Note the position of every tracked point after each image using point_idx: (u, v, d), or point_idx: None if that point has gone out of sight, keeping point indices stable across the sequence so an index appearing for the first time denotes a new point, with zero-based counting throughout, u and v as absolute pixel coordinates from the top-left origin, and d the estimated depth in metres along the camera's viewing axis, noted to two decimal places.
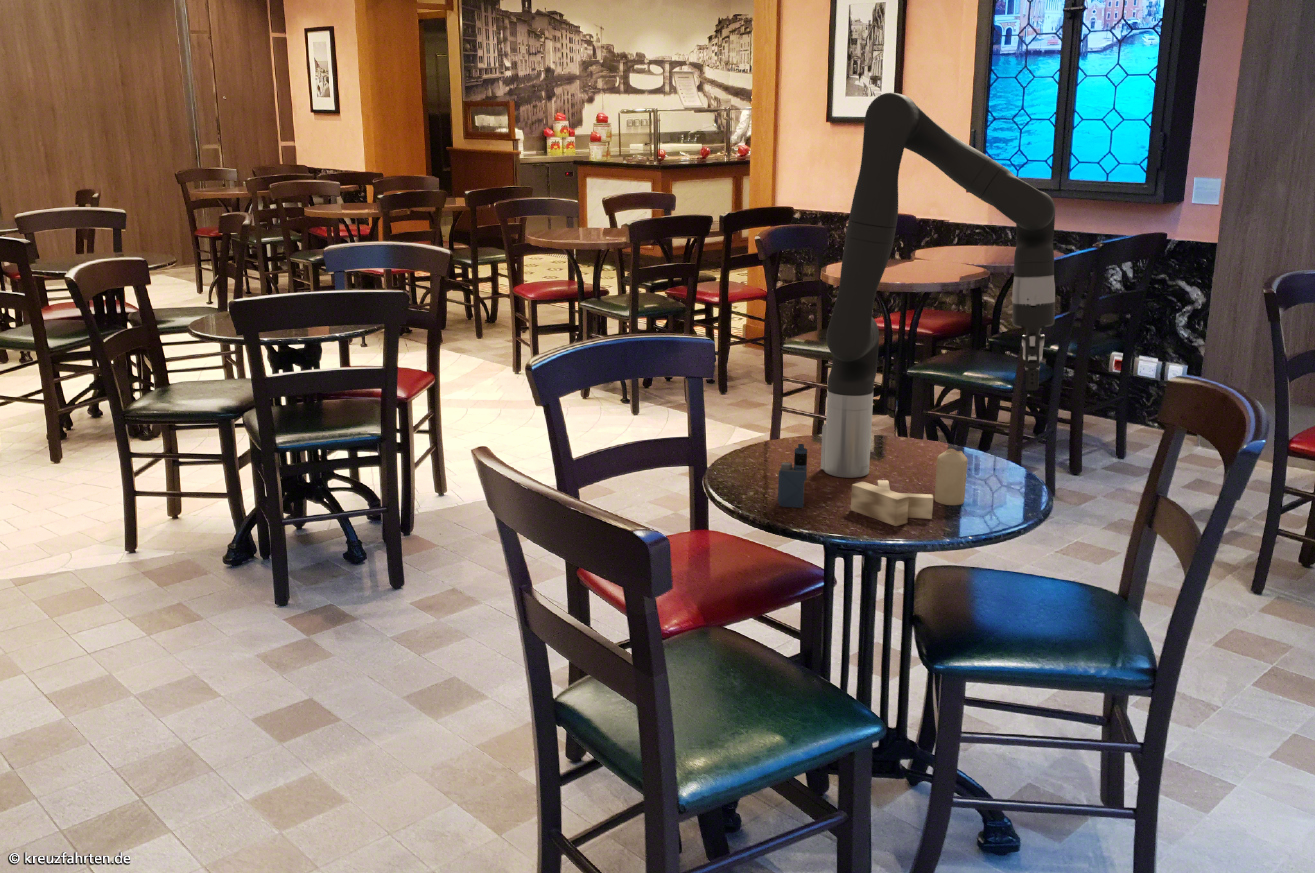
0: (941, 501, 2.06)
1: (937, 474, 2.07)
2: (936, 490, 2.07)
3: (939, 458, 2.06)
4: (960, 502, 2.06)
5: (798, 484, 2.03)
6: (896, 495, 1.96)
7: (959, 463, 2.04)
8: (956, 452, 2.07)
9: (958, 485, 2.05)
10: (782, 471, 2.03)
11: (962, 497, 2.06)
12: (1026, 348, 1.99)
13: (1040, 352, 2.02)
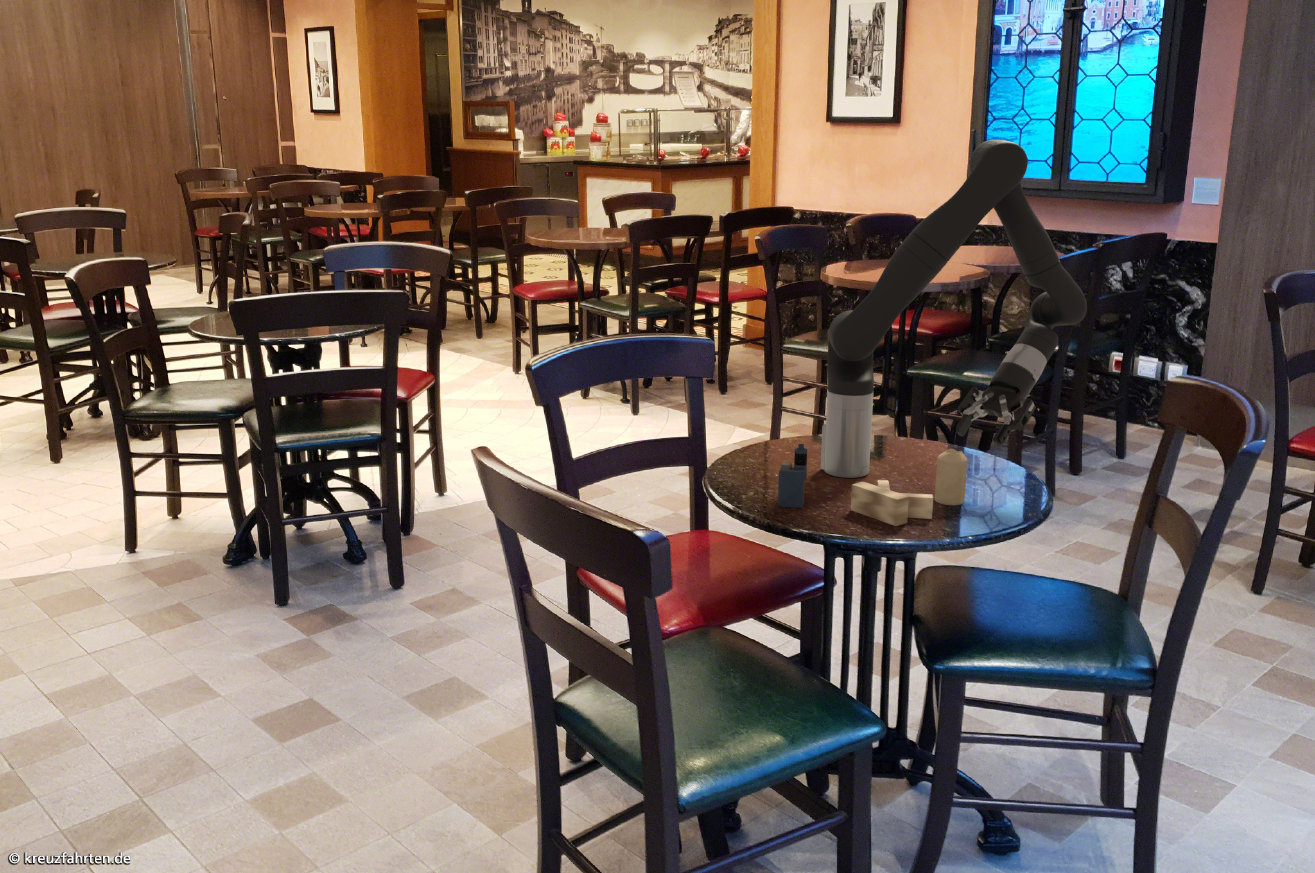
0: (941, 501, 2.06)
1: (937, 474, 2.07)
2: (936, 490, 2.07)
3: (939, 458, 2.06)
4: (960, 502, 2.06)
5: (798, 484, 2.03)
6: (896, 495, 1.96)
7: (959, 463, 2.04)
8: (956, 452, 2.07)
9: (958, 485, 2.05)
10: (782, 471, 2.03)
11: (962, 497, 2.06)
12: (1027, 408, 2.05)
13: (1013, 417, 2.09)
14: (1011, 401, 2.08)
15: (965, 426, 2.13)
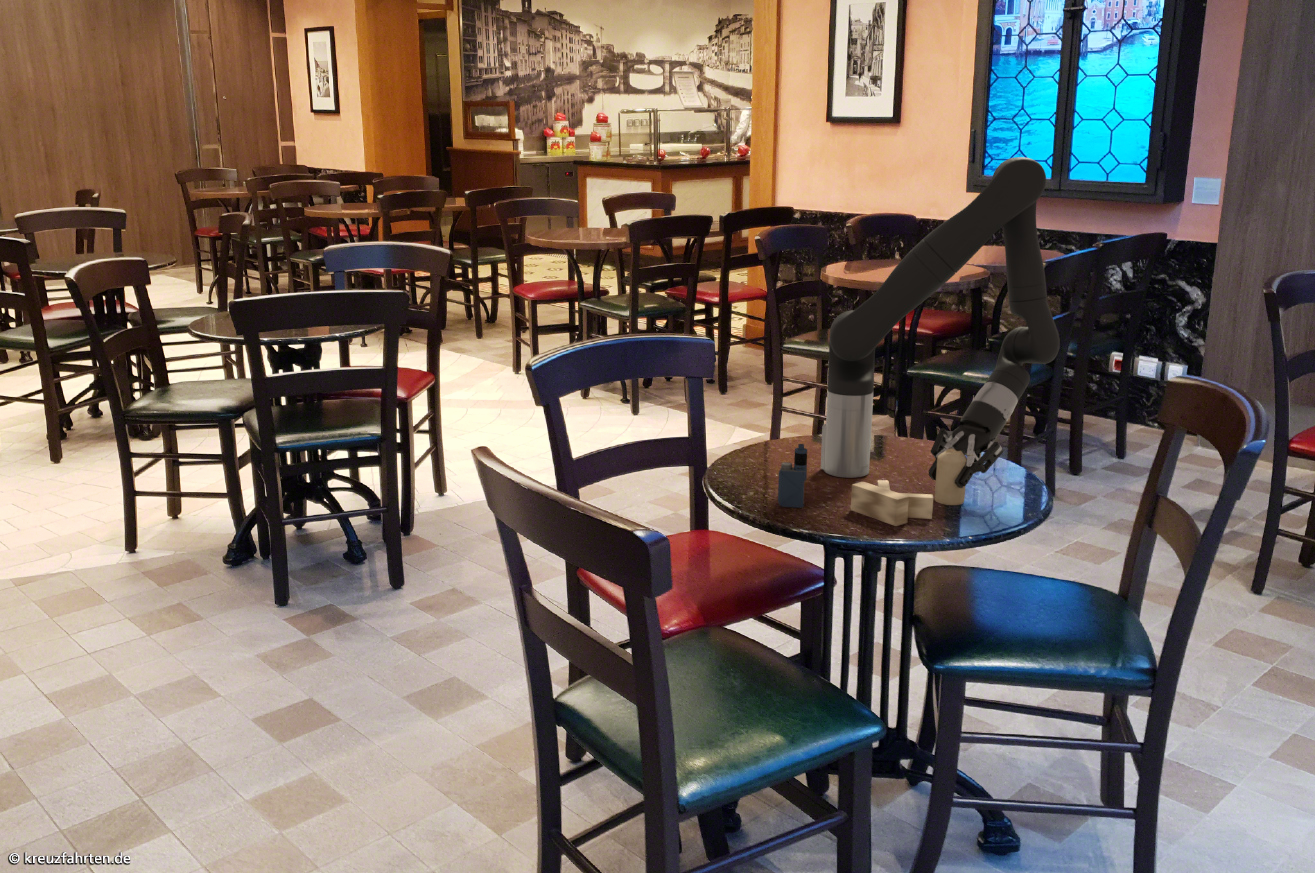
0: (941, 501, 2.06)
1: (937, 474, 2.07)
2: (936, 490, 2.07)
3: (939, 458, 2.06)
4: (960, 502, 2.06)
5: (798, 484, 2.03)
6: (896, 495, 1.96)
7: (959, 463, 2.04)
8: (956, 452, 2.07)
9: None
10: (782, 471, 2.03)
11: (962, 497, 2.06)
12: (992, 452, 2.02)
13: None
14: (980, 441, 2.05)
15: None
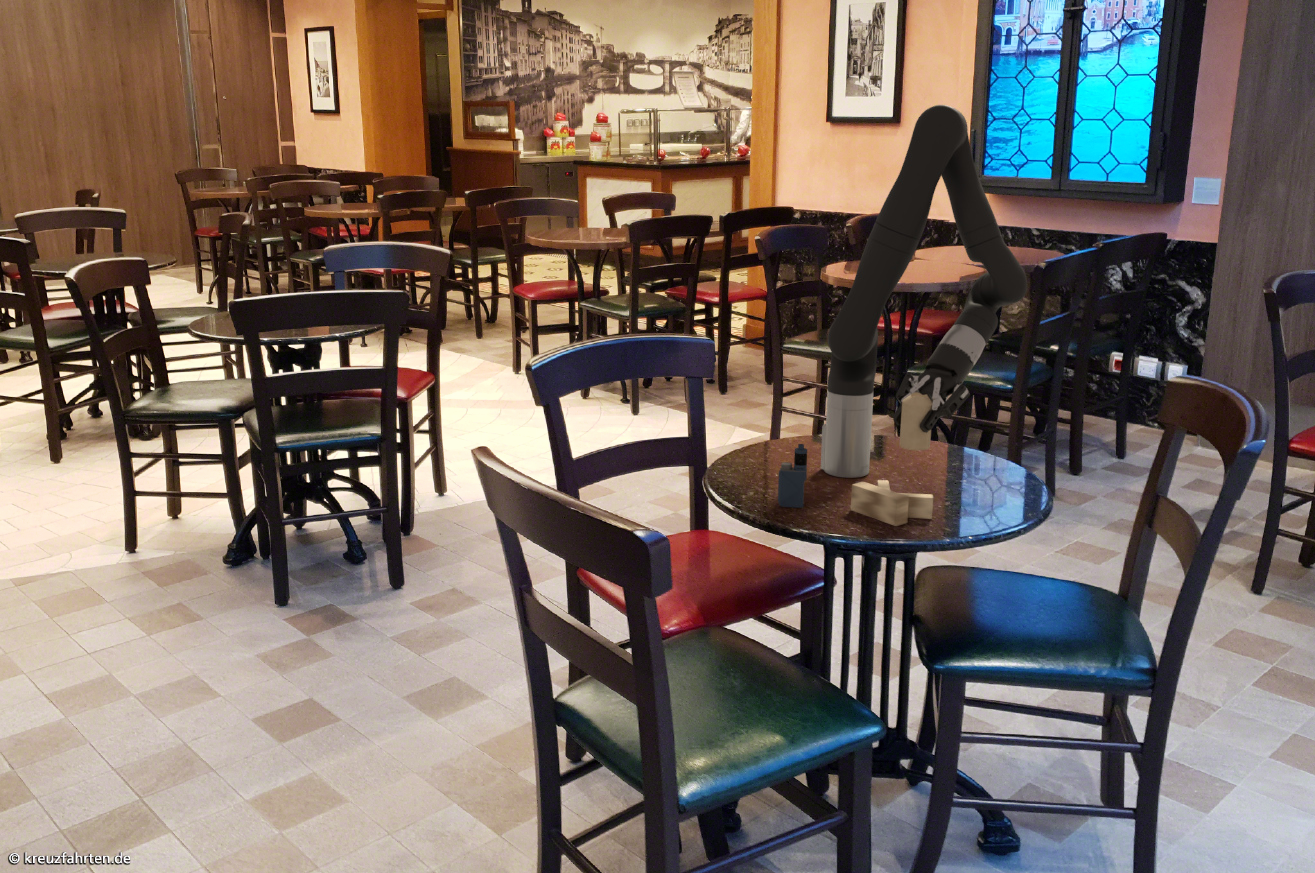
0: (906, 446, 2.00)
1: (902, 418, 2.00)
2: (901, 435, 2.01)
3: (904, 402, 1.99)
4: (925, 447, 2.00)
5: (798, 484, 2.03)
6: (896, 495, 1.96)
7: (924, 407, 1.97)
8: (921, 396, 2.00)
9: None
10: (782, 471, 2.03)
11: (927, 442, 2.00)
12: (958, 395, 1.96)
13: None
14: (946, 384, 1.99)
15: None
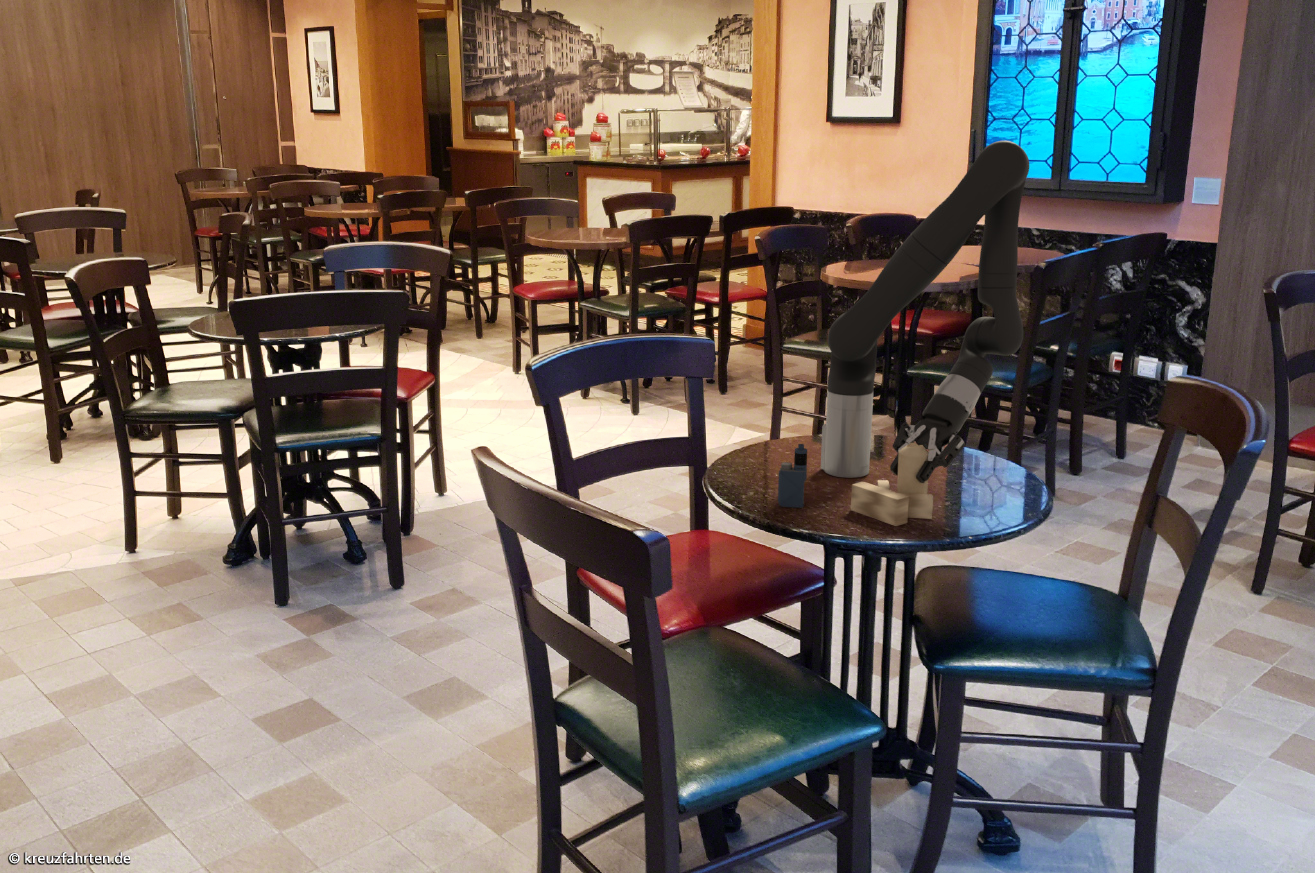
0: None
1: (898, 469, 2.02)
2: (898, 485, 2.03)
3: (900, 453, 2.01)
4: None
5: (798, 484, 2.03)
6: (896, 495, 1.96)
7: (920, 457, 1.99)
8: (917, 446, 2.02)
9: None
10: (782, 471, 2.03)
11: (924, 492, 2.02)
12: (953, 446, 1.98)
13: None
14: (942, 434, 2.01)
15: None
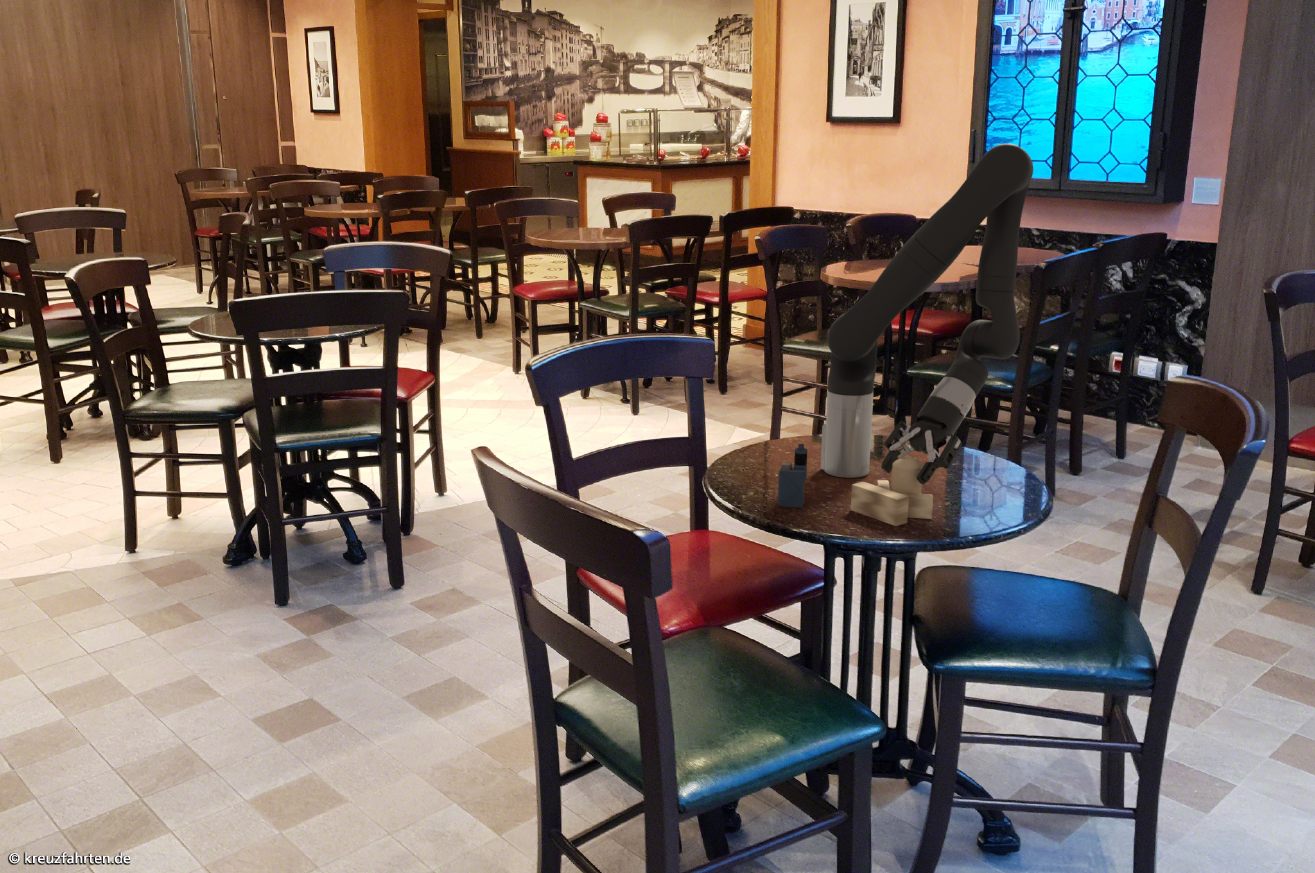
0: None
1: (892, 481, 2.02)
2: None
3: (894, 464, 2.01)
4: None
5: (798, 484, 2.03)
6: (896, 495, 1.96)
7: (914, 470, 1.99)
8: (912, 458, 2.02)
9: (913, 492, 2.01)
10: (782, 471, 2.03)
11: None
12: (952, 446, 1.97)
13: (939, 454, 2.01)
14: (937, 437, 2.00)
15: (891, 463, 2.05)
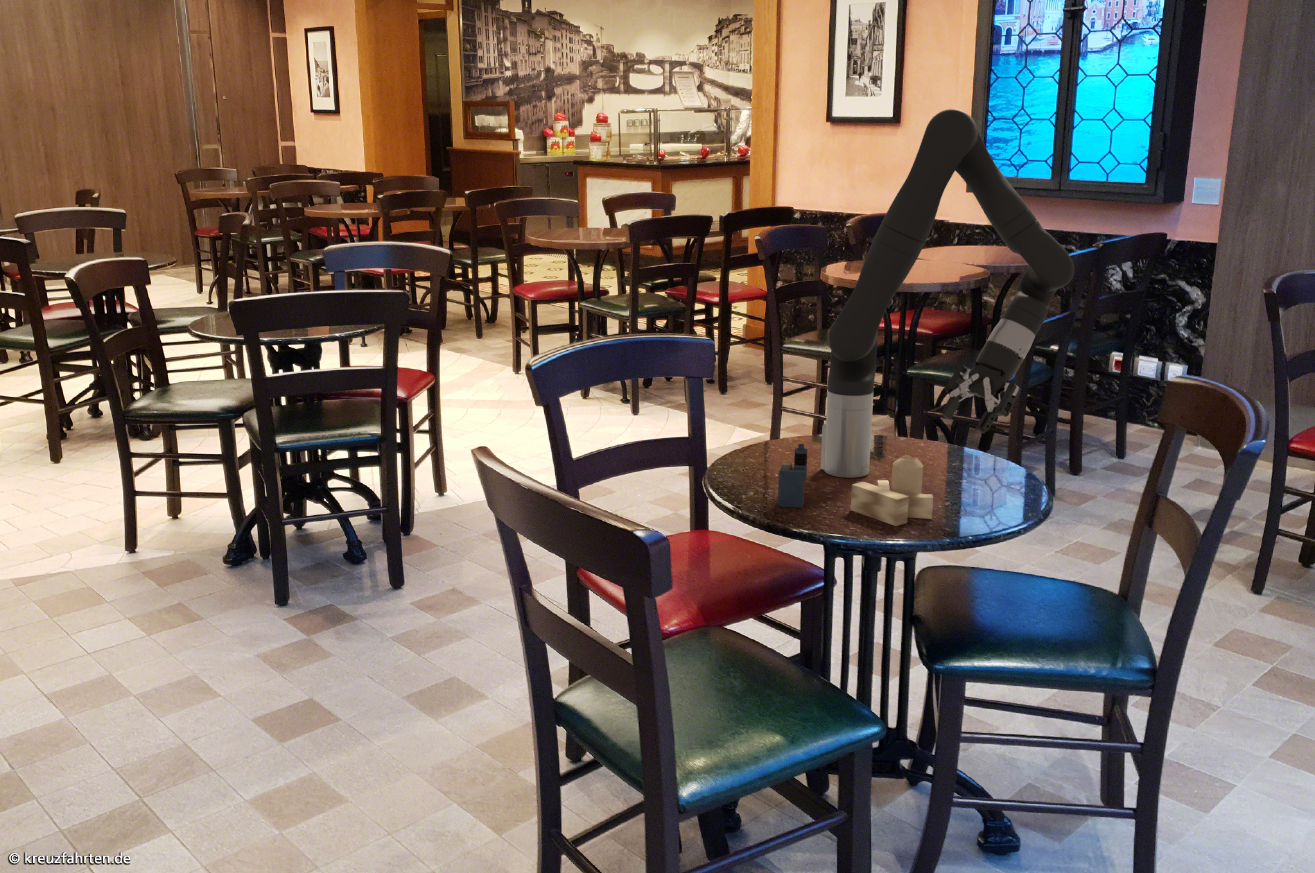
0: None
1: (892, 481, 2.02)
2: None
3: (894, 465, 2.01)
4: None
5: (798, 484, 2.03)
6: (896, 495, 1.96)
7: (914, 470, 1.99)
8: (912, 458, 2.02)
9: (913, 492, 2.01)
10: (782, 471, 2.03)
11: None
12: (1010, 394, 1.98)
13: (999, 400, 2.02)
14: (995, 384, 2.01)
15: (952, 409, 2.07)
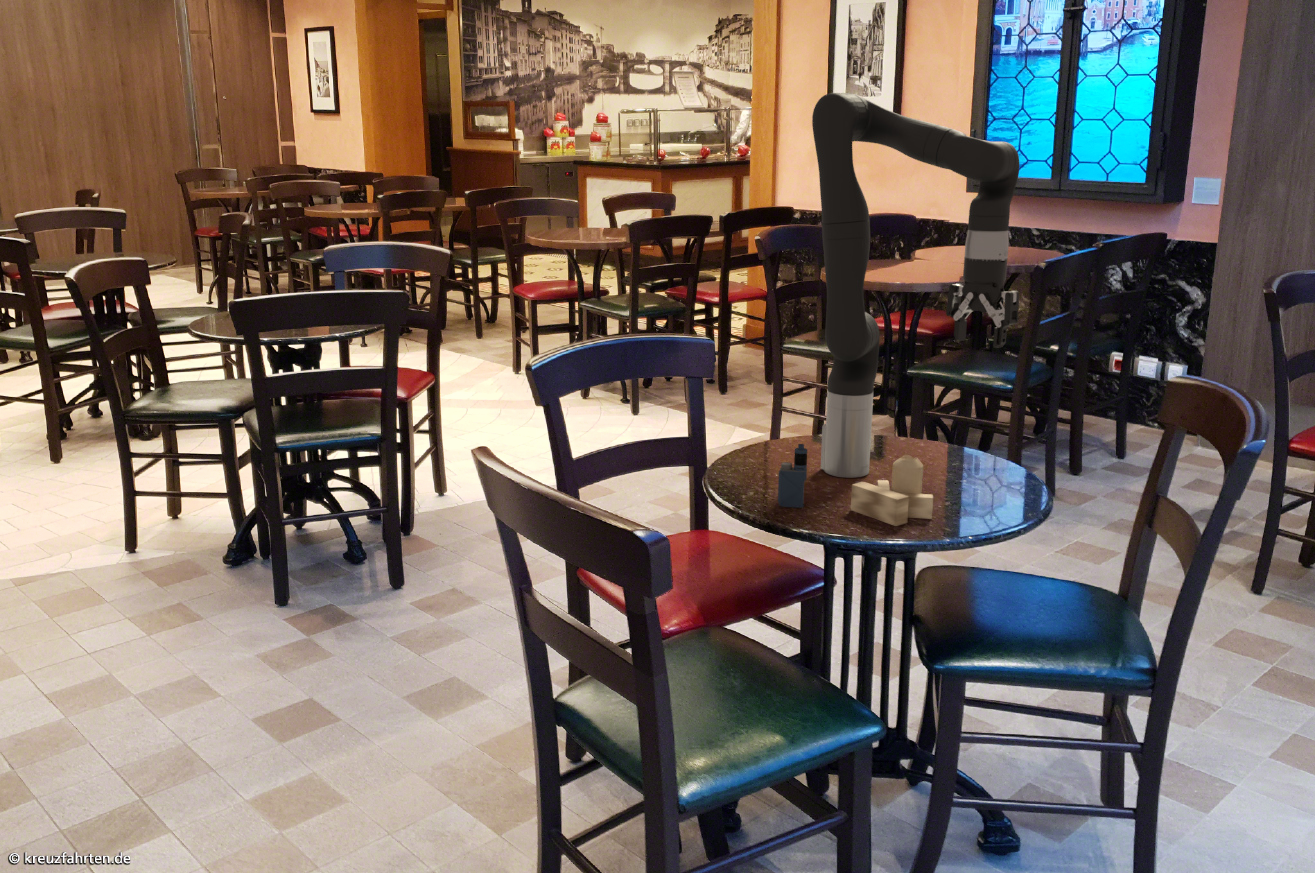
0: None
1: (892, 481, 2.02)
2: None
3: (894, 464, 2.01)
4: None
5: (798, 484, 2.03)
6: (896, 495, 1.96)
7: (914, 470, 1.99)
8: (912, 458, 2.02)
9: (913, 492, 2.01)
10: (782, 471, 2.03)
11: None
12: (1011, 305, 1.94)
13: (1003, 308, 1.98)
14: (992, 298, 1.97)
15: (962, 330, 2.04)
